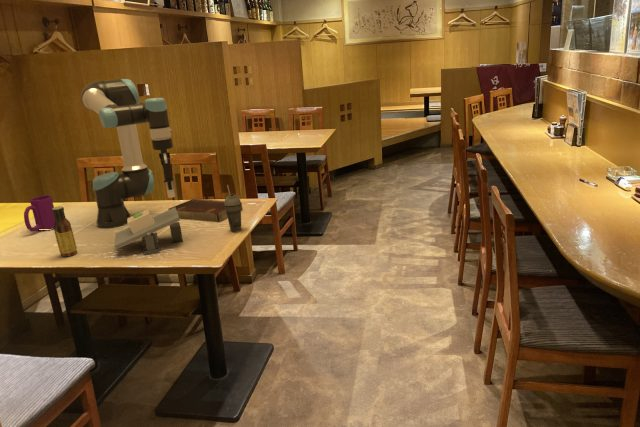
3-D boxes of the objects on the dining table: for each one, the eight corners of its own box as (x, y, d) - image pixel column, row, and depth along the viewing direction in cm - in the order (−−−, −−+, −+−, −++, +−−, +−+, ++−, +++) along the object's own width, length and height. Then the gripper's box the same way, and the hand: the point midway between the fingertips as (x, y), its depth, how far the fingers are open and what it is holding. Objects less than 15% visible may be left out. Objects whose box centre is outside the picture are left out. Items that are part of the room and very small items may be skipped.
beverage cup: (241, 233, 214) (235, 186, 208) (224, 233, 216) (218, 187, 210) (246, 227, 221) (241, 182, 215) (231, 227, 222) (225, 182, 216)
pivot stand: (144, 255, 197) (140, 238, 195) (142, 238, 217) (139, 222, 215) (184, 247, 202) (182, 231, 200) (179, 231, 222) (177, 216, 220)
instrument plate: (117, 251, 196) (107, 233, 193) (118, 238, 211) (108, 221, 208) (180, 222, 202) (171, 204, 199) (177, 211, 216) (169, 194, 213)
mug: (63, 225, 244) (56, 195, 240) (37, 236, 230) (29, 205, 226) (48, 224, 247) (40, 195, 242) (21, 236, 233) (13, 204, 228)
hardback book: (242, 211, 247) (241, 201, 245) (219, 223, 231) (217, 212, 229) (195, 207, 259) (193, 197, 258) (170, 218, 243) (168, 208, 242)
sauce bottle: (64, 252, 207) (53, 205, 201) (80, 250, 208) (69, 204, 202) (57, 258, 201) (46, 210, 195) (74, 257, 201) (62, 208, 195)
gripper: (172, 139, 194) (182, 199, 201) (170, 135, 206) (179, 192, 213) (152, 141, 192) (162, 202, 199) (150, 137, 204) (161, 195, 210)
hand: (171, 196), depth 206 cm, fingers closed
